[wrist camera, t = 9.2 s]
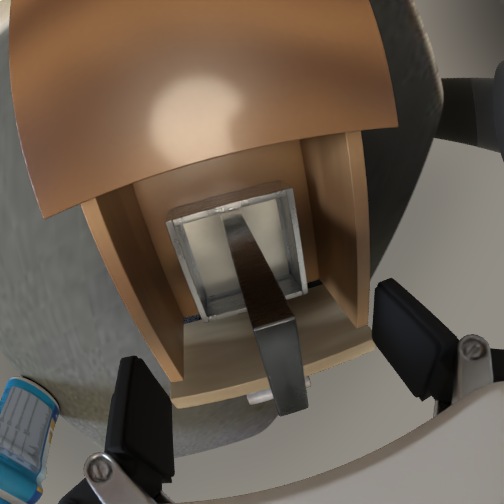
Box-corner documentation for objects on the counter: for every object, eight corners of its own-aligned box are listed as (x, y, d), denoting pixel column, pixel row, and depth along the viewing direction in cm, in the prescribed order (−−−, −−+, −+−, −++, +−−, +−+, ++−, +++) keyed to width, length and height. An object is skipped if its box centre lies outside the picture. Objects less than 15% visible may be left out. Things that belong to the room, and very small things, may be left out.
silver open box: (279, 179, 17) (389, 254, 7) (296, 275, 20) (372, 394, 10) (169, 209, 16) (134, 328, 6) (201, 301, 19) (216, 443, 10)
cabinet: (315, 123, 18) (398, 127, 9) (108, 178, 16) (43, 220, 8) (263, -56, 10) (301, -121, 2) (74, -12, 9) (23, -62, 1)
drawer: (334, 332, 25) (369, 388, 18) (197, 373, 24) (203, 439, 17) (306, 96, 16) (368, 82, 9) (103, 148, 15) (48, 162, 8)
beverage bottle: (45, 379, 23) (10, 526, 5) (70, 418, 26) (54, 543, 8) (-2, 368, 21) (-45, 491, 3) (25, 407, 24) (0, 518, 6)
